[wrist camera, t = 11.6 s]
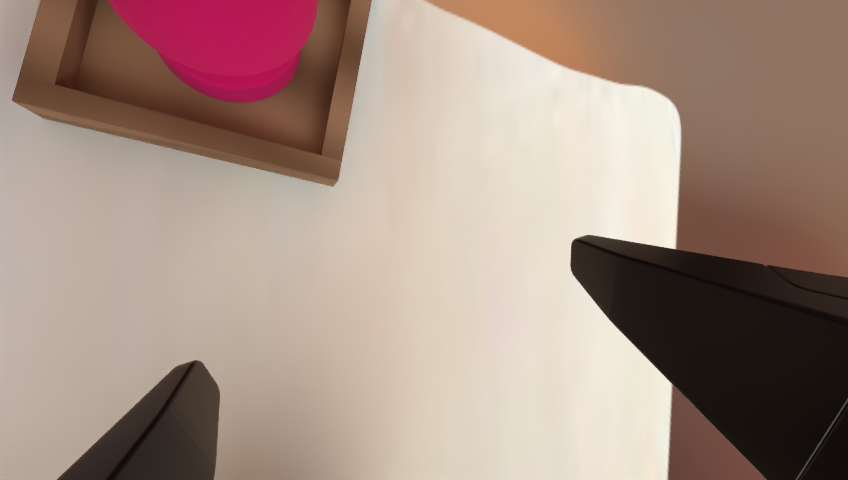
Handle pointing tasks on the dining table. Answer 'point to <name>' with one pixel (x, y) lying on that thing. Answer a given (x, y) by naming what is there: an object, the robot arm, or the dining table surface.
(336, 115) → the walnut tray
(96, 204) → the dining table surface
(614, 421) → the dining table surface
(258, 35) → the pepper mill
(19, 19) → the dining table surface
